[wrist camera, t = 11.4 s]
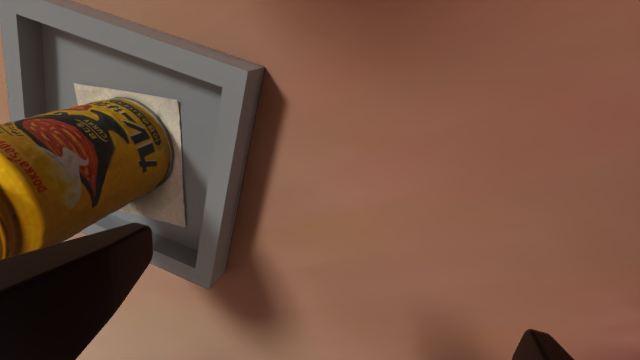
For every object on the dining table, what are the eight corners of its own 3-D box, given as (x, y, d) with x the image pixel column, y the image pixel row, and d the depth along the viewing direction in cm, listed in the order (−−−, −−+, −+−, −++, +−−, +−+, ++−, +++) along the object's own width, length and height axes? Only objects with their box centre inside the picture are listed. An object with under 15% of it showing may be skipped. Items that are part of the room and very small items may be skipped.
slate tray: (264, 67, 21) (247, 71, 19) (224, 272, 27) (209, 289, 25) (31, -13, 23) (-4, -16, 21) (44, 192, 29) (18, 204, 28)
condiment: (179, 99, 22) (-62, 170, 12) (187, 226, 26) (5, 370, 15) (76, 82, 24) (-216, 131, 13) (96, 203, 27) (-124, 319, 17)
